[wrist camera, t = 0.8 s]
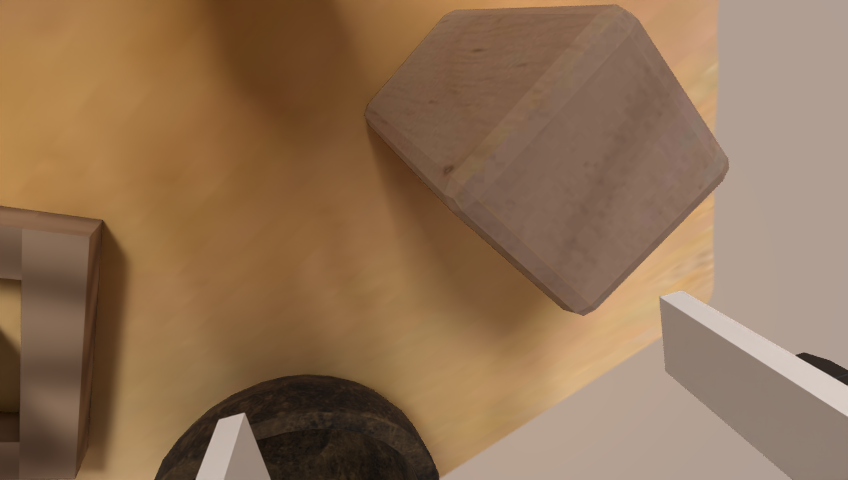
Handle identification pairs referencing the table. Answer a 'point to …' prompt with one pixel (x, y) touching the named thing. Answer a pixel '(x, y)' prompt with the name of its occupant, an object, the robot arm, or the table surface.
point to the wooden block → (552, 140)
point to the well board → (51, 340)
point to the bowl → (313, 433)
